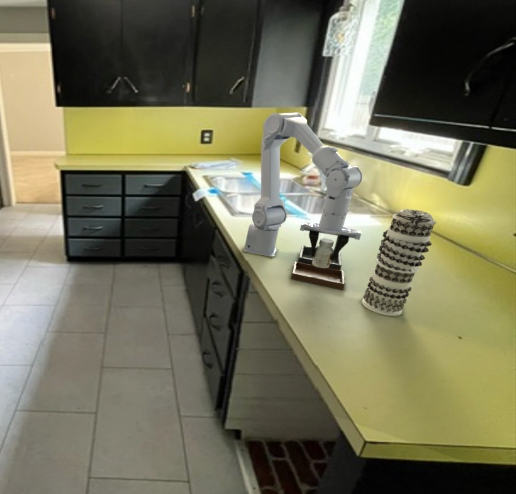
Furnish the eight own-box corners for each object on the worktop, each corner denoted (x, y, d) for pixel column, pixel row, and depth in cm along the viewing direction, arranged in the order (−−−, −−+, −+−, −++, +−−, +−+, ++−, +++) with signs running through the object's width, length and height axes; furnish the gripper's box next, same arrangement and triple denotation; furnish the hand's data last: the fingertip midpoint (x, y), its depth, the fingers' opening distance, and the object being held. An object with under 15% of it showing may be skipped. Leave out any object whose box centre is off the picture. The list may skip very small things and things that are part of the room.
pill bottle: (331, 269, 102) (338, 244, 99) (314, 267, 103) (321, 242, 100) (326, 262, 106) (332, 238, 103) (310, 261, 107) (316, 237, 104)
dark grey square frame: (297, 265, 113) (299, 257, 112) (299, 253, 122) (301, 244, 121) (338, 274, 108) (341, 265, 107) (338, 260, 117) (340, 251, 116)
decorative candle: (377, 317, 88) (414, 219, 77) (352, 297, 96) (381, 206, 86) (413, 316, 88) (454, 218, 78) (384, 296, 97) (417, 206, 86)
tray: (290, 278, 106) (292, 273, 105) (293, 266, 113) (295, 261, 112) (342, 290, 100) (344, 284, 99) (342, 276, 107) (344, 270, 106)
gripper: (304, 211, 98) (293, 257, 104) (367, 220, 92) (352, 268, 97) (305, 205, 104) (295, 249, 109) (365, 213, 97) (351, 259, 103)
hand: (322, 257), depth 104 cm, fingers closed on pill bottle, 4 cm apart
